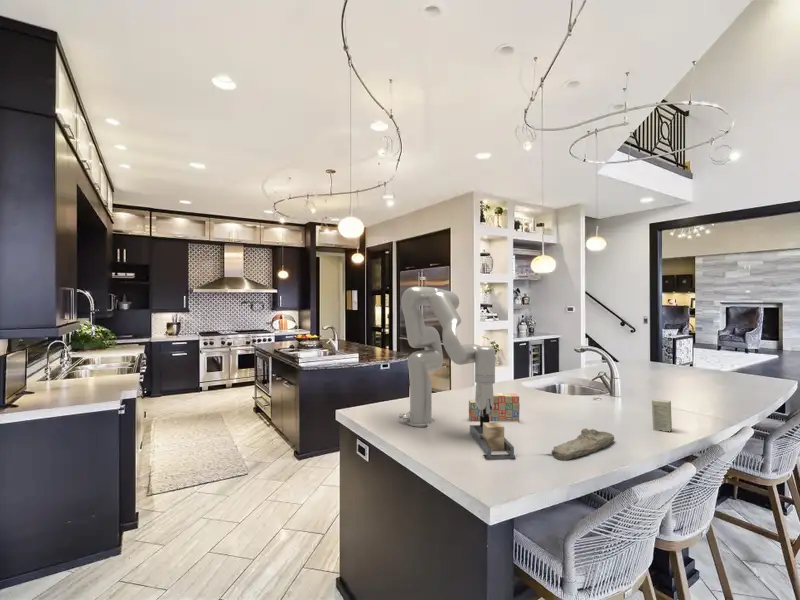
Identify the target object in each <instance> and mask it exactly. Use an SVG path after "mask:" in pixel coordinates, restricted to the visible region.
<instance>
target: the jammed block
mask: <svg viewBox="0 0 800 600" xmlns="http://www.w3.org/2000/svg"><path fill="white" fill-rule="evenodd" d="M482 437H483V438H484V440H485V441H486V442H487V443H488V444H489V446H490V447H491V451H505V449H504V438H505V426H504V425H503V424H502V423H501V422H500V421H489V422H486V423H483V433H482Z"/></svg>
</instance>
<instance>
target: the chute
mask: <svg viewBox="0 0 800 600" xmlns="http://www.w3.org/2000/svg"><path fill="white" fill-rule="evenodd" d="M469 434H470V435H471V437H472V438H473V439H474V440H475V442H476V443H477V445H478V446H479V447H480V449H482V451H483V452H484V454H482V456H483V458H485V460H486V461H487V460H488V461H489V460H492V461H493V460H494V461H495V460H516V455H515V447H514V446H513V444H511V442H510V441H509V440H508V439H507V438H506V437H504V451H506V453H505V454H504V453H503V454H499V453H497V454H492V450H491V447H490V446H489V444H488V443H487V442H486V441H485V440H484V438H483V435H482V434H483V427H481V426H480V424H471V425H469Z"/></svg>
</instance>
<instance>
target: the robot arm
mask: <svg viewBox="0 0 800 600" xmlns="http://www.w3.org/2000/svg"><path fill="white" fill-rule="evenodd" d="M400 306H401V311H402V313H403V318H404V323H405V324H404V325H405V330H406V331H405V332H406V337H407V342H408V345H409V346H410V347H411V348H414V349H423V348H424V350H417V351H414V352H411V354H410V355H409V356H408V358H407V368H408V374H409V411H408V412H407V413H399V419H402V420H406V424H407V425H409V426H410V427H411V426H412V427H417V428H418V427H419V428H427V427H429V426H428V425H433V424H434V423H436V420H435V419H434V418H433V417H432V416H433V415H432V414H433V413H432V411H433V410H432V409H433V408H432V405H433V404H432V403H433V400H432V399H433V398H432V397H433V395H432V393H433V392H432V388H433V387H432V379H431V377H430V374H429V372H433V371H438V370H440V369H441V368H442V367H443V364H444V353H443V348H444V349H445V352H446V353H447V356H448V357H449V358H450V360H451V361H452V362H453V363H454V364H456V365H457V366H458V365H459V366H461V365H462V366H463V365H467V364H474V383H475V395H474V396H475V397H474V398H475V399H474V400H475V405H476V406H477V407H478V408H479V409H480V415H482V416H480V421H479V425H480V426H481V427H483V423H486V422H490V421H489V416H490V410H493V393H494V385H493V384H495V383H496V350H495V347H493V346H490V345H489V346H488V345H478V344H474V343H469V344H462V343H461V342H460V340H459V338H458V336H457V332H456V330H457V327H459V325H460V324H461V323H462V318H461V316H460V315H459V313H458V311H457V309H458V308H459V306H460V298H459V296H458V295H457V294H456V293H455V292H454V291H450V290H445V289H442V288H438V287H431V286H430V287H429V286H411V287H408V288H406V290H405V291H403V294H402V296H401V301H400ZM420 306H423V307H425V306H426V307H428V306H429V307H430V308H431V309H432V312H433V313H434V315H435V317H436V319H437V320H438V323H439V324H440V326H441V328H442V333H441V334H442V335H441V336H440V333H439V331H438V330H437V328H435V327H433V326H430V325H426V324H425V318H424V315H423V312H422V310H421V309H420V308H419V307H420ZM441 337H442V339H441ZM441 340H442V342H441ZM442 345H443V347H442Z"/></svg>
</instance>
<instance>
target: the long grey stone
mask: <svg viewBox="0 0 800 600" xmlns="http://www.w3.org/2000/svg"><path fill="white" fill-rule="evenodd" d="M614 440H615V436H614V434H613V433H610V432H608V431H599V430H597V429H594V428H592V429H588V428H582V429H581V433H580V434H579V435H578V436H577V437H576V438H575V439H571V440H568V441H566V442H564V443H561V444H558V445H557V446H553V449H552V450H551V455H553V457H554V458H555V459H556V458H557V460H559V461H565V460H566V461H569V460H572V459H576V458H579V456H580V457H585V456H586V455H589V454H588V453H590V454H592V453H591V452H593V453H596V452H597V451H598V450H601V448H603V449H604V448H606V447H608V446H610V445H611V444H612V443H613V442H614ZM585 454H586V455H585ZM584 455H585V456H584Z"/></svg>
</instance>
